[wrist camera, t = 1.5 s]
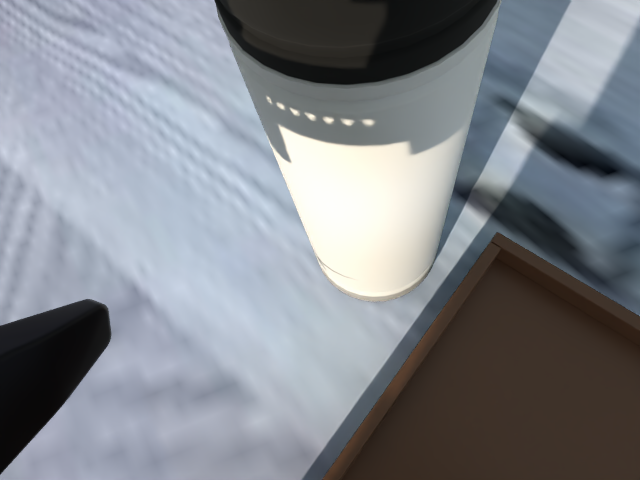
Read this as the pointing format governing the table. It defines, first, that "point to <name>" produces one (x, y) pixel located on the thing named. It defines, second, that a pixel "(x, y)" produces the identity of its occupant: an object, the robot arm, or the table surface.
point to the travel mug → (365, 122)
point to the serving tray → (510, 384)
